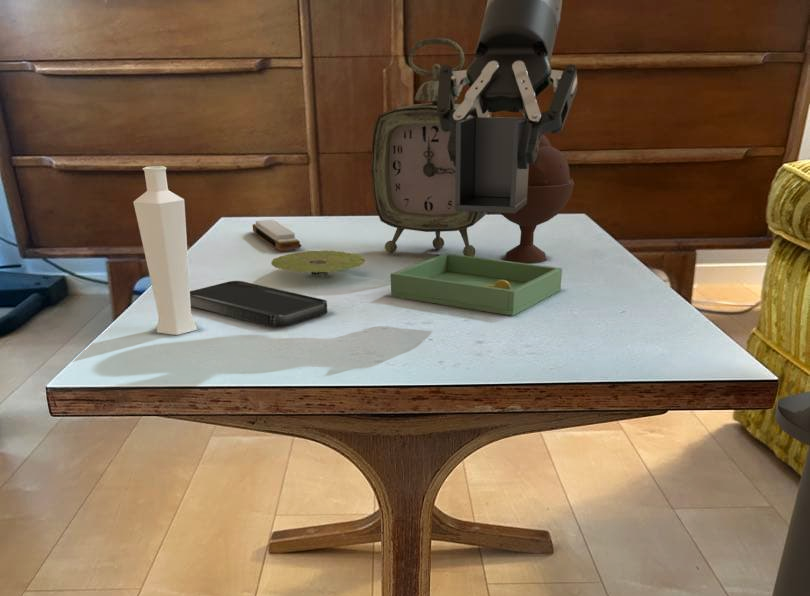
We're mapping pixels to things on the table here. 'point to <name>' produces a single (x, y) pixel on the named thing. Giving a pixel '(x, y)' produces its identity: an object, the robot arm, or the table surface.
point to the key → (501, 285)
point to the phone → (258, 303)
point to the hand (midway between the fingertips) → (489, 161)
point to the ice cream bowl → (541, 200)
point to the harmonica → (276, 235)
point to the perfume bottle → (165, 251)
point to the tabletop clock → (418, 165)
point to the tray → (476, 283)
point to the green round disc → (318, 262)
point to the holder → (490, 165)
